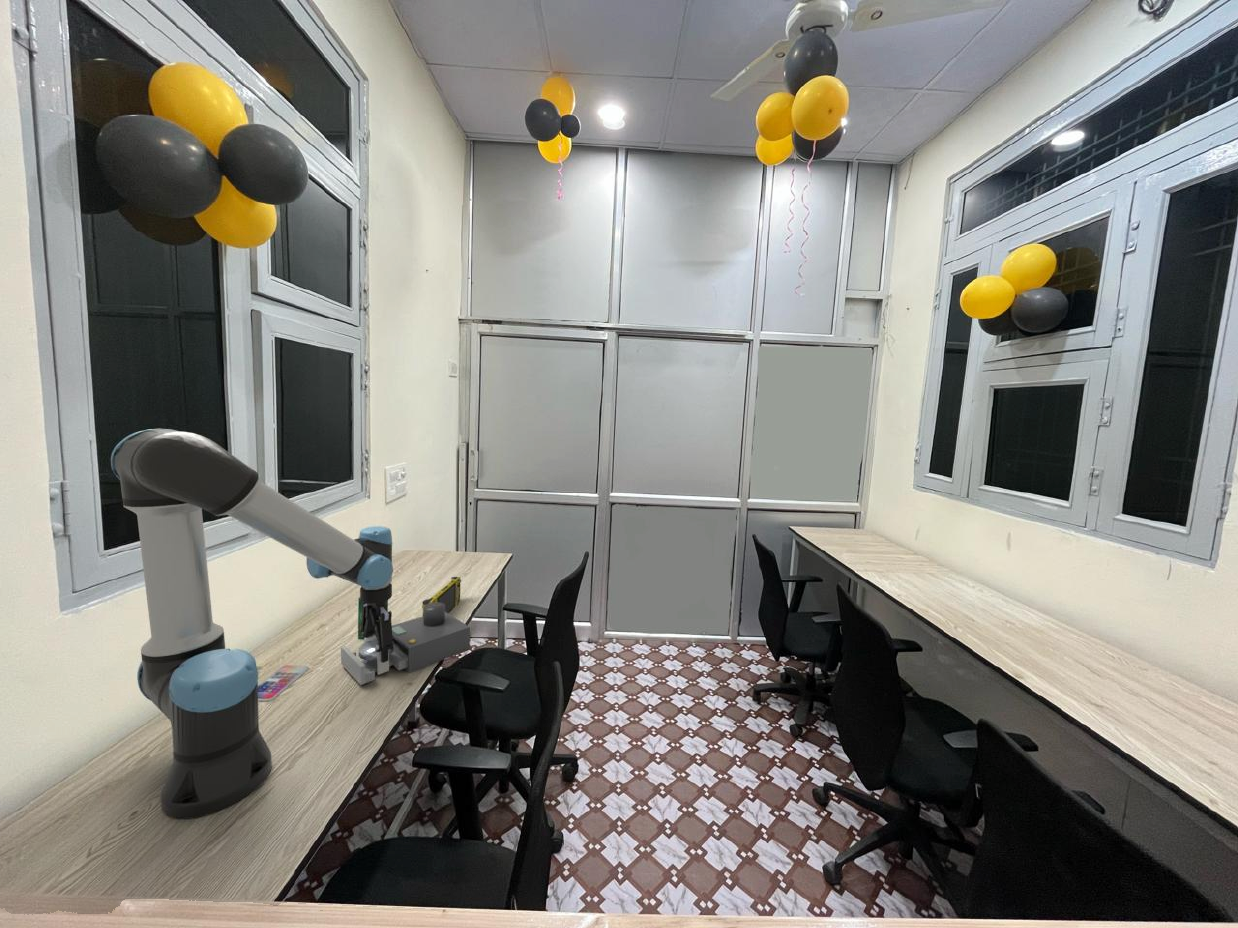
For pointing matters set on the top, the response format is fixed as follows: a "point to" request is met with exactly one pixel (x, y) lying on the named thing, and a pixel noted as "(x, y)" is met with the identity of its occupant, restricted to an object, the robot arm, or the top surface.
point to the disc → (370, 650)
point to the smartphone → (279, 682)
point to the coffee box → (360, 635)
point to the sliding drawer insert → (372, 663)
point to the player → (431, 636)
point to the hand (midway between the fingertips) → (376, 665)
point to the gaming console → (447, 595)
